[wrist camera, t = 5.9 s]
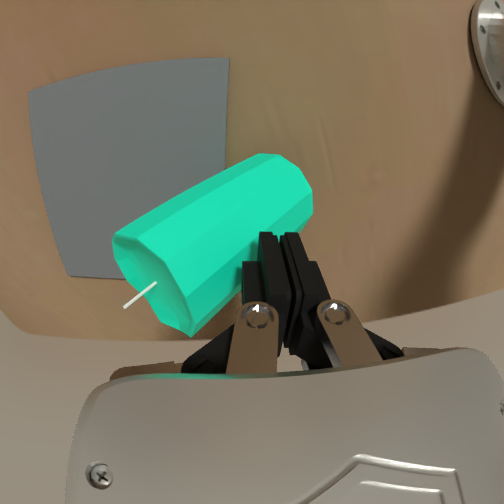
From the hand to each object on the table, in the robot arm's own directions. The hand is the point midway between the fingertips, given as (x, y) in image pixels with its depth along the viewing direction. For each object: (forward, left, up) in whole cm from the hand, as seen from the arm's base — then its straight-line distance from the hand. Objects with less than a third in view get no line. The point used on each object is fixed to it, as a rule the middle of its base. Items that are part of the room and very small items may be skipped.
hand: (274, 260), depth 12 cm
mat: (+10, 0, -9) cm, 14 cm away
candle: (-1, 0, -8) cm, 8 cm away
